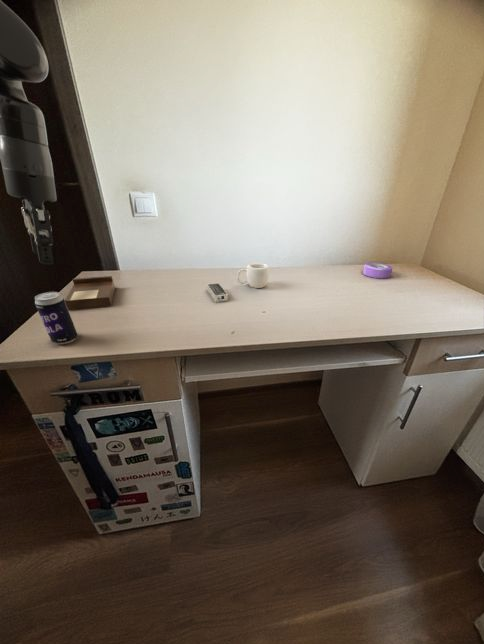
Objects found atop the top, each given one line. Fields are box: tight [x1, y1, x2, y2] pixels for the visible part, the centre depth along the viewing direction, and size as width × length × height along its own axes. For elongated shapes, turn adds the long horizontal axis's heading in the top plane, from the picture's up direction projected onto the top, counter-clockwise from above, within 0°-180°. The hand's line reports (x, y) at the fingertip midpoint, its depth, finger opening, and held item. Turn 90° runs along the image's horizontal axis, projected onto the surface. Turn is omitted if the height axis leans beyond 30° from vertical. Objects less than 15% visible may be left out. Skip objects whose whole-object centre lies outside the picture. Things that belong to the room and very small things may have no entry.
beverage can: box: [34, 291, 78, 345], centre depth 68 cm, size 6×6×12 cm
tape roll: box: [362, 261, 393, 279], centre depth 124 cm, size 12×12×4 cm
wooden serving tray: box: [64, 275, 116, 311], centre depth 92 cm, size 12×16×4 cm
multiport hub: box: [206, 283, 229, 303], centre depth 98 cm, size 4×11×2 cm, turn 24°
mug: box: [236, 262, 270, 289], centre depth 106 cm, size 12×8×8 cm
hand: (43, 258), depth 60 cm, fingers open, 8 cm apart
